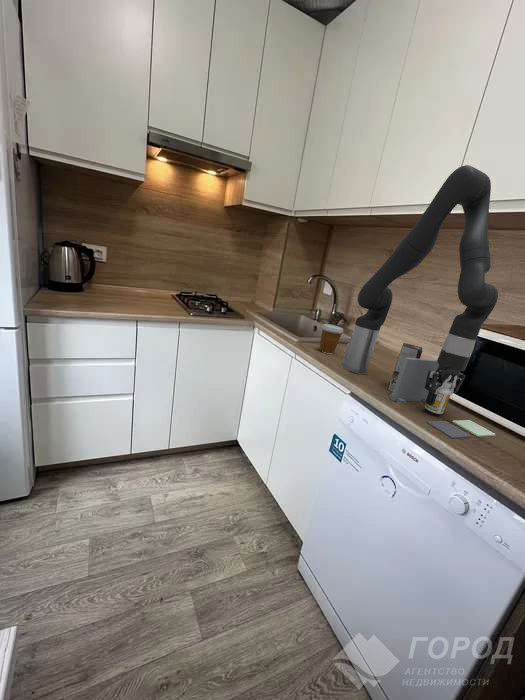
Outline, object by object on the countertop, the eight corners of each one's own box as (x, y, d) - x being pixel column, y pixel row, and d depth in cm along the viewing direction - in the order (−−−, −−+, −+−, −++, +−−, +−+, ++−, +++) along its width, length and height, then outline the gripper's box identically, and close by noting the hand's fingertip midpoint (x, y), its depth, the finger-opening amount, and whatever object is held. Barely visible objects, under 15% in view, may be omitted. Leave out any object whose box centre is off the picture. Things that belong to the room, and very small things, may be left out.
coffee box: (407, 396, 111) (422, 351, 107) (387, 390, 114) (402, 345, 109) (408, 389, 119) (423, 347, 115) (389, 383, 122) (403, 341, 117)
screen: (386, 396, 107) (400, 355, 103) (420, 396, 114) (434, 358, 110) (398, 403, 103) (412, 361, 99) (432, 403, 110) (447, 364, 106)
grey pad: (426, 422, 92) (427, 421, 92) (445, 422, 96) (445, 420, 96) (452, 438, 85) (452, 437, 85) (471, 437, 89) (471, 435, 89)
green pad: (452, 421, 97) (452, 420, 97) (469, 421, 101) (469, 419, 100) (478, 436, 90) (478, 435, 90) (495, 435, 94) (495, 434, 94)
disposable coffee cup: (317, 352, 144) (323, 326, 140) (314, 347, 153) (321, 322, 150) (338, 357, 144) (346, 331, 140) (335, 351, 153) (342, 326, 150)
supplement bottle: (436, 407, 103) (448, 378, 101) (446, 415, 98) (458, 385, 96) (420, 404, 103) (431, 375, 100) (429, 412, 98) (441, 382, 95)
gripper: (460, 348, 102) (440, 398, 106) (428, 345, 95) (409, 398, 100) (483, 357, 95) (461, 410, 100) (451, 354, 89) (429, 410, 94)
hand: (435, 404), depth 100 cm, fingers closed on supplement bottle, 5 cm apart
